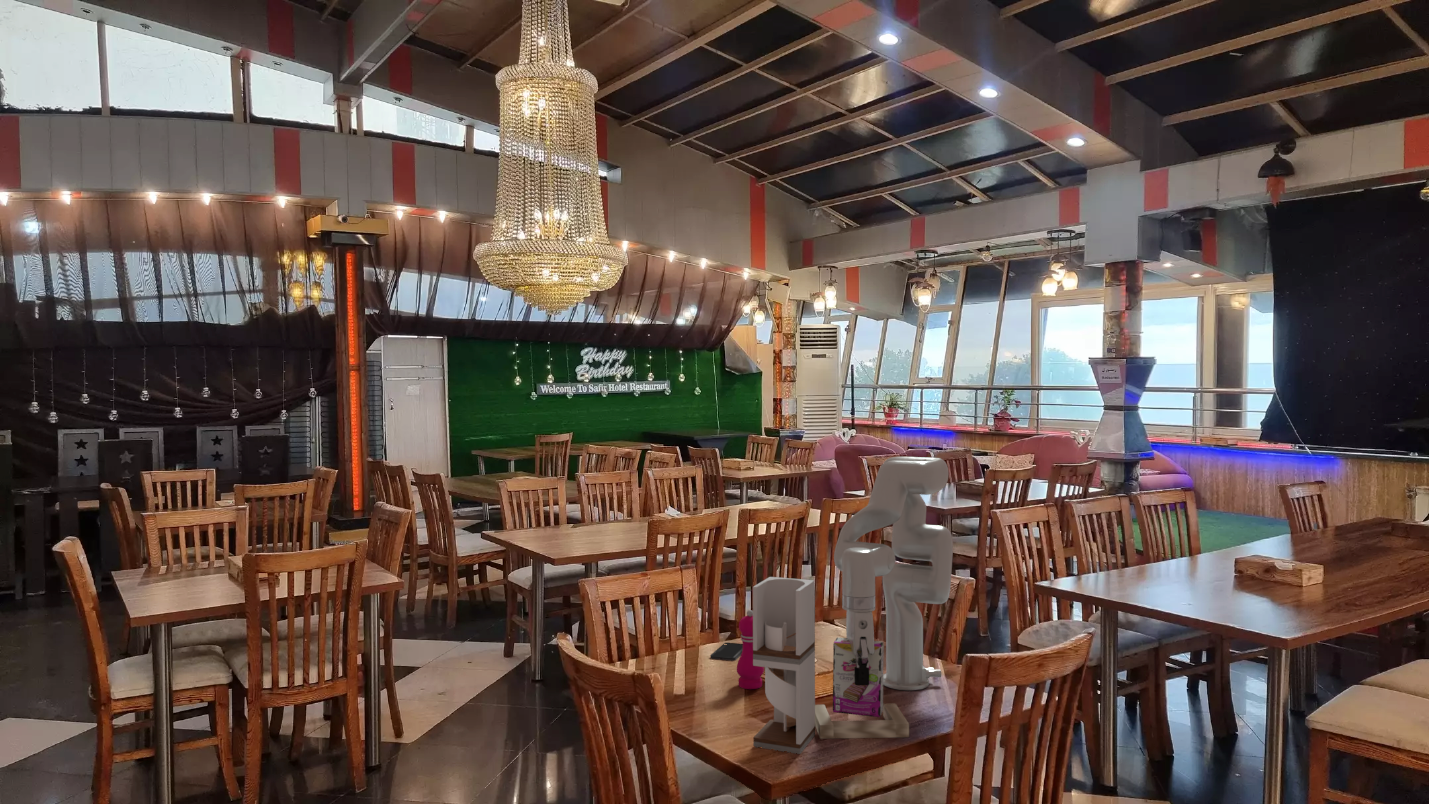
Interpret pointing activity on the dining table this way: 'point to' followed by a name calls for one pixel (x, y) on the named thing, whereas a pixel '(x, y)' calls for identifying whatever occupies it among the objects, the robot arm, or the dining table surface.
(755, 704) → the dining table surface
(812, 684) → the white spiral tower
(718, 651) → the phone
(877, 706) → the candy bar box
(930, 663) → the dining table surface
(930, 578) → the robot arm
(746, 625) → the pepper mill
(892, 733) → the notched board
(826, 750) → the dining table surface
